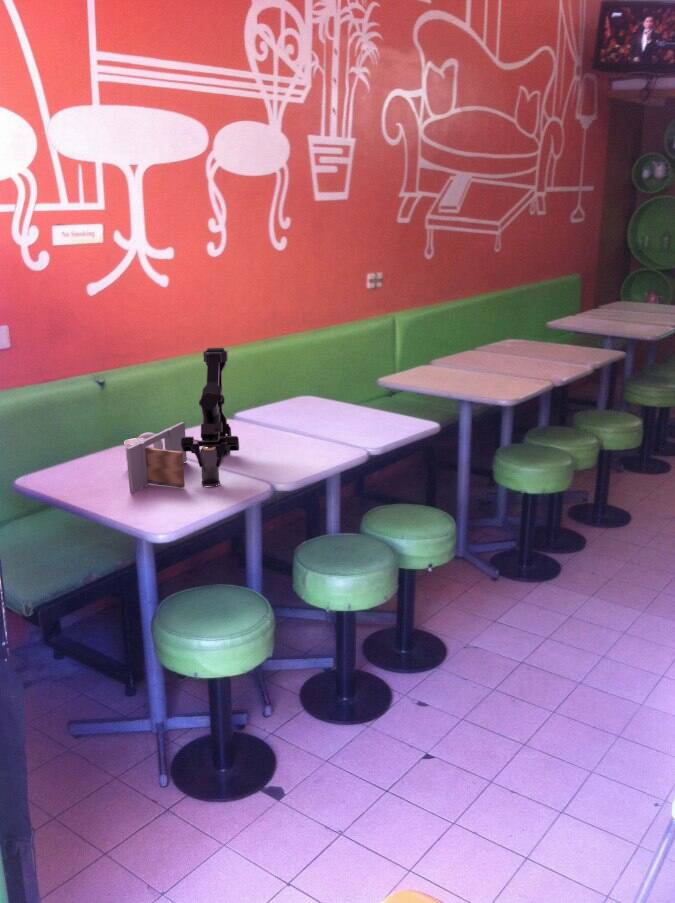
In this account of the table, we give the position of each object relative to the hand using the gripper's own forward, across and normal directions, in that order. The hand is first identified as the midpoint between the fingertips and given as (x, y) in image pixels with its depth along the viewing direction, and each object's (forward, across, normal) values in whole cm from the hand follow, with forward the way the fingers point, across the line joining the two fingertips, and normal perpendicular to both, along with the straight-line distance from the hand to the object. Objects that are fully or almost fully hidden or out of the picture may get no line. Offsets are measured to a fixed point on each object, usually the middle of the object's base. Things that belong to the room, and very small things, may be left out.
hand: (209, 466), depth 279 cm
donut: (-16, -25, +26) cm, 40 cm away
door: (+4, -15, +4) cm, 16 cm away
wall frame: (-2, -18, +12) cm, 22 cm away
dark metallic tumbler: (+4, 0, +6) cm, 7 cm away
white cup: (-9, -27, +19) cm, 34 cm away
